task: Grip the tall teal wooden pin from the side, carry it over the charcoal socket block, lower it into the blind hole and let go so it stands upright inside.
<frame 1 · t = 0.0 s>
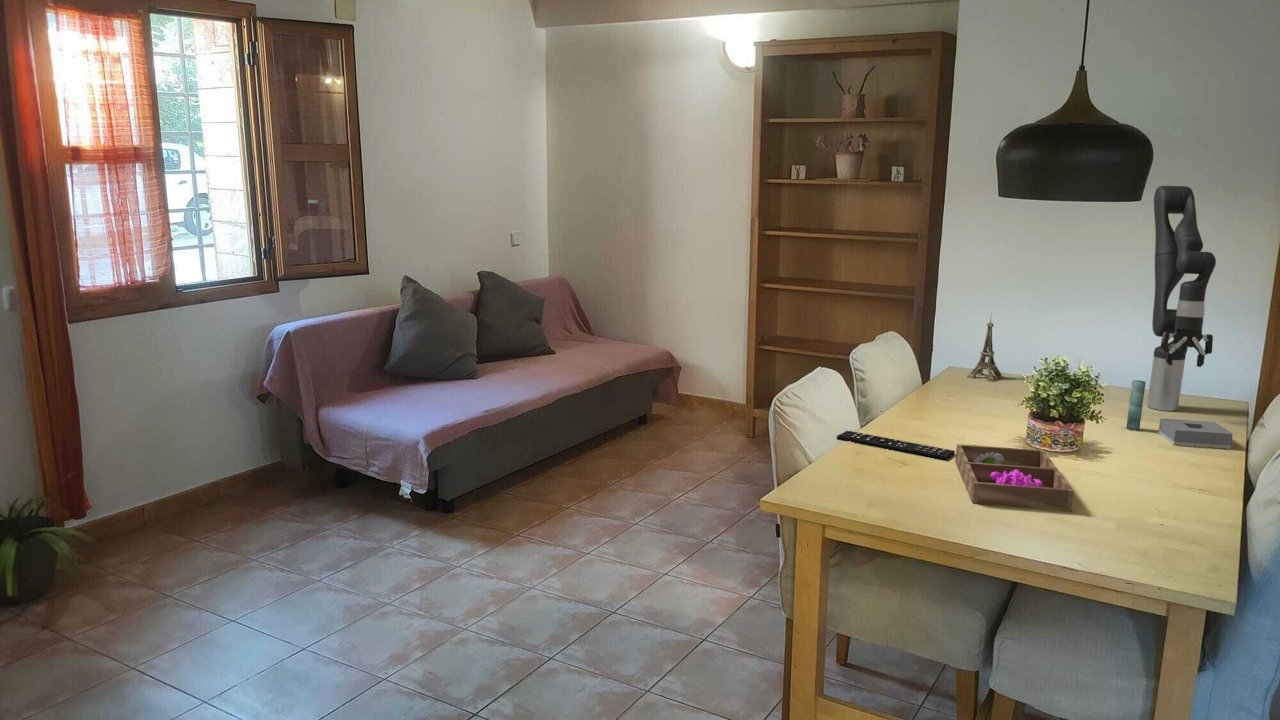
hand: (1184, 365, 297), 17 cm above the table, tool pointing down, fingers open, 8 cm apart
magenta lumpy cluster: (1014, 497, 227), resting in walnut display tray
teal pin: (1132, 429, 287), on the table
socket block: (1193, 440, 276), on the table
decorative flower: (1003, 476, 242), resting in walnut display tray
walnut display tray: (1008, 484, 235), on the table
eiffel tower: (985, 378, 355), on the table
remote control: (893, 449, 266), on the table
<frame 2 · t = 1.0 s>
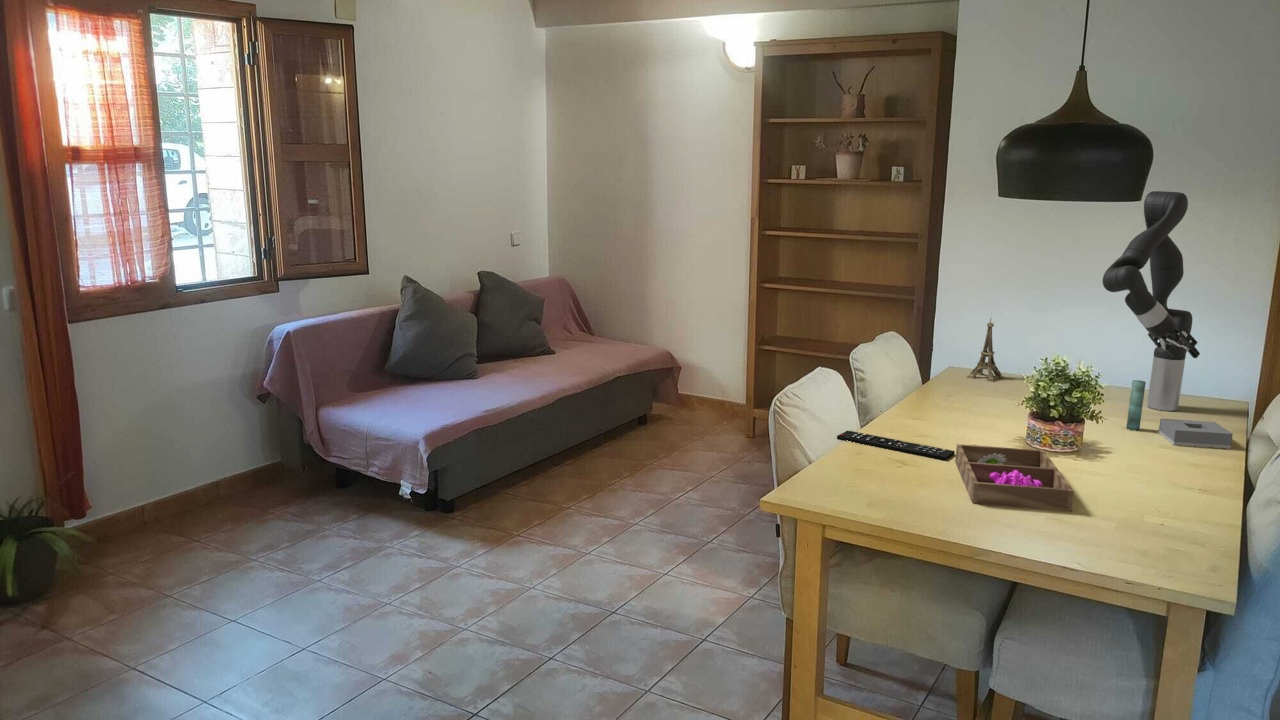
hand: (1186, 355, 285), 23 cm above the table, tool tilted 45°, fingers open, 8 cm apart
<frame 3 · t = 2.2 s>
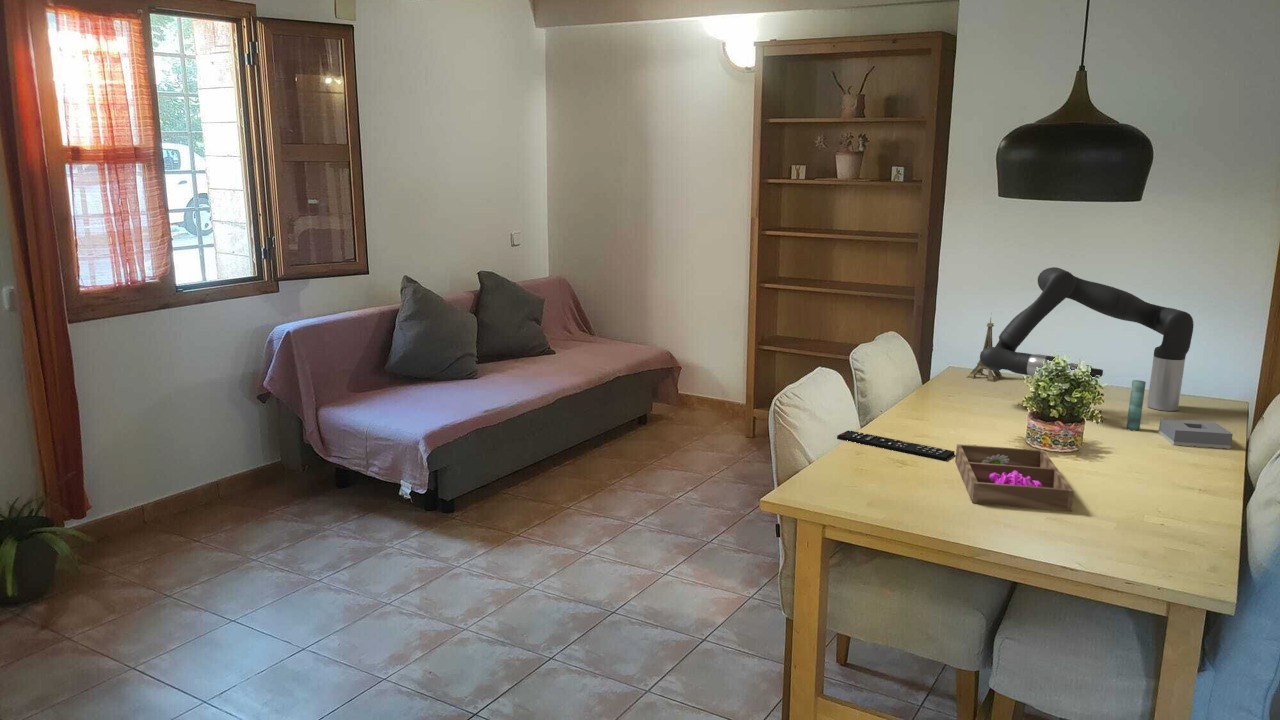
hand: (1099, 375, 291), 15 cm above the table, tool horizontal, fingers open, 8 cm apart
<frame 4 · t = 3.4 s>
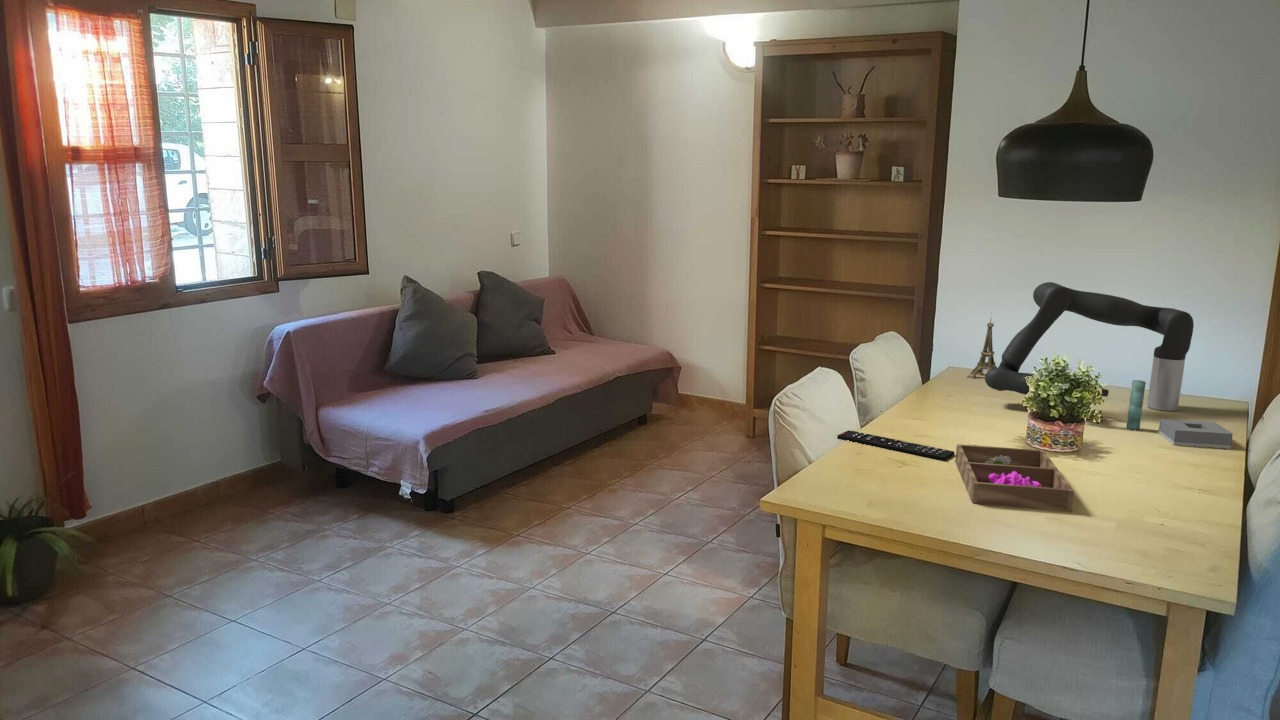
hand: (1104, 395, 291), 9 cm above the table, tool horizontal, fingers open, 8 cm apart
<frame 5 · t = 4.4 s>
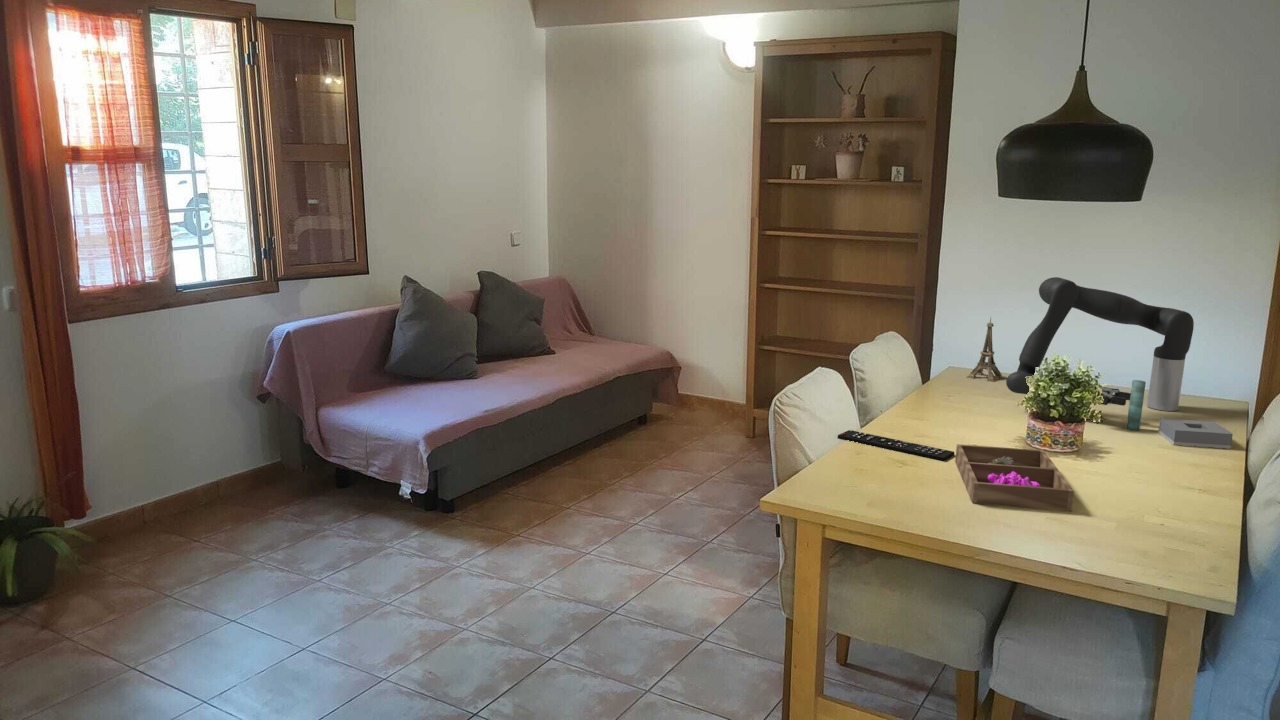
hand: (1129, 399, 287), 9 cm above the table, tool horizontal, fingers open, 8 cm apart
magenta lumpy cluster: (1011, 499, 225), resting in walnut display tray
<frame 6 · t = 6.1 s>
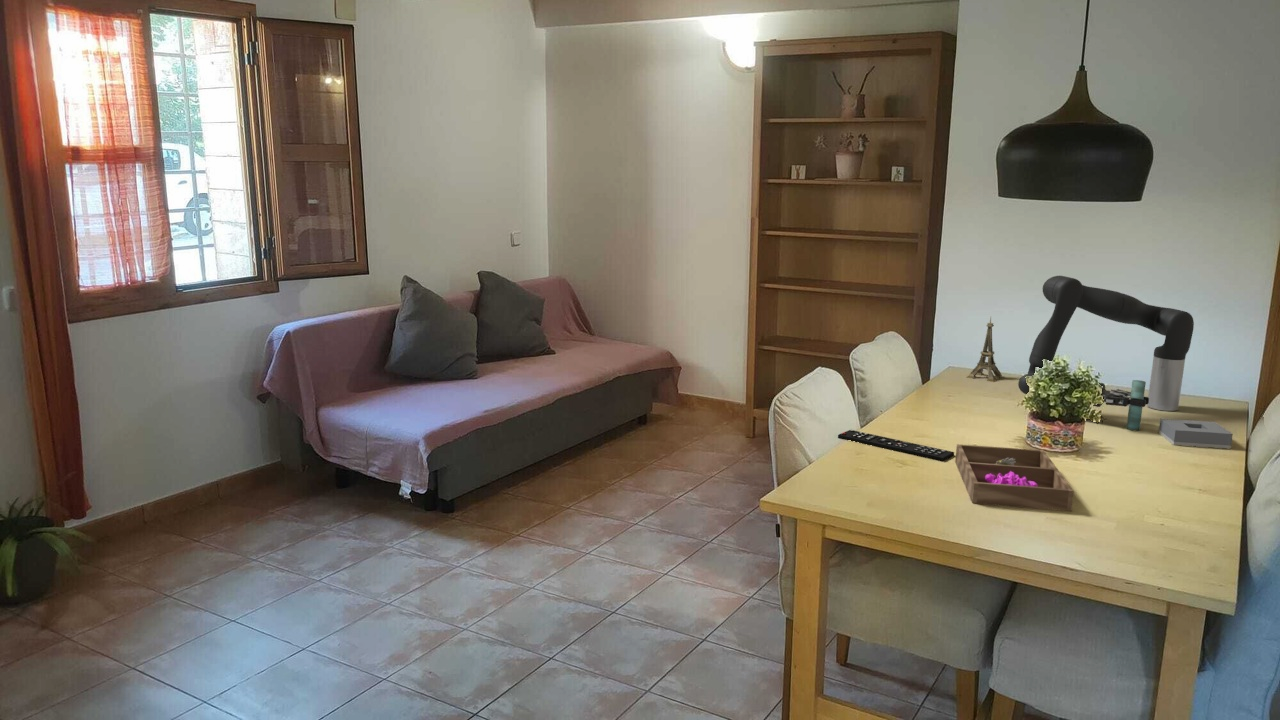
hand: (1146, 402, 284), 9 cm above the table, tool horizontal, fingers closed on teal pin, 3 cm apart
magenta lumpy cluster: (1009, 499, 225), resting in walnut display tray
teal pin: (1132, 429, 287), on the table, touching gripper
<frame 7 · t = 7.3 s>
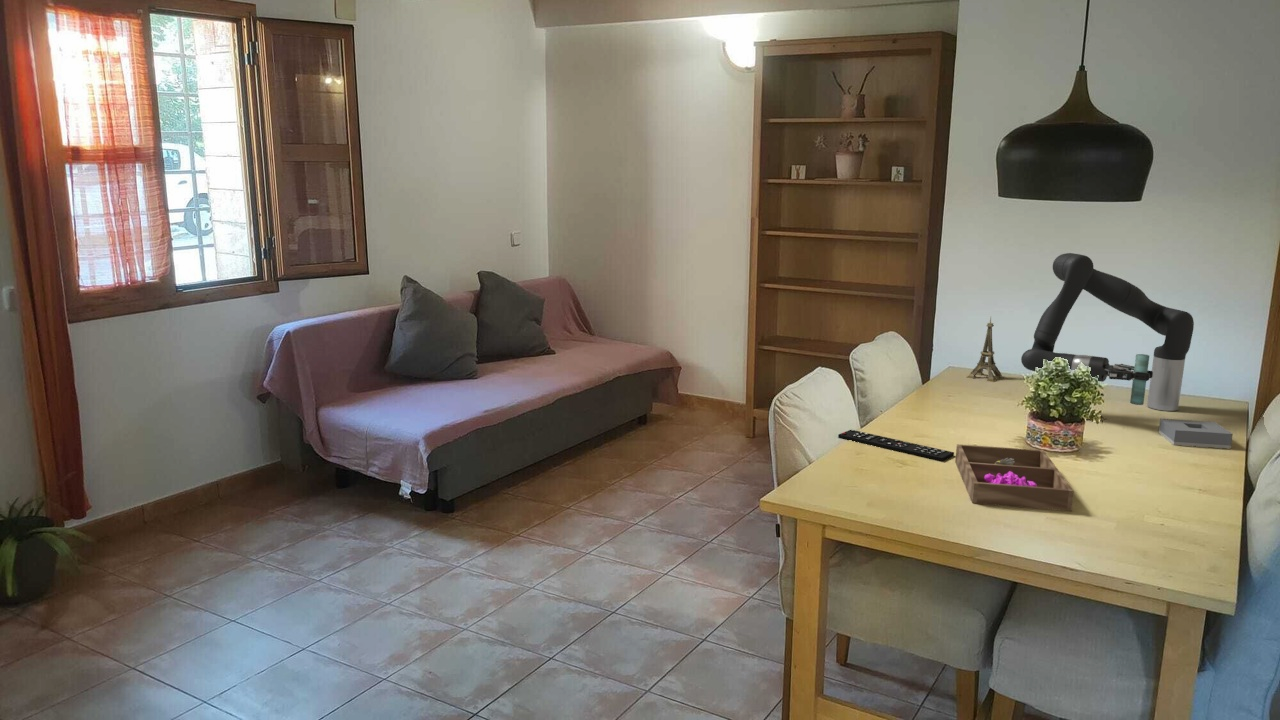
hand: (1150, 376, 282), 17 cm above the table, tool horizontal, fingers closed on teal pin, 3 cm apart
teal pin: (1136, 403, 286), point 8 cm above the table, touching gripper
when the fingers open (11 cm above the table, at t = 10.8 s): teal pin stays where it is, resting on socket block.
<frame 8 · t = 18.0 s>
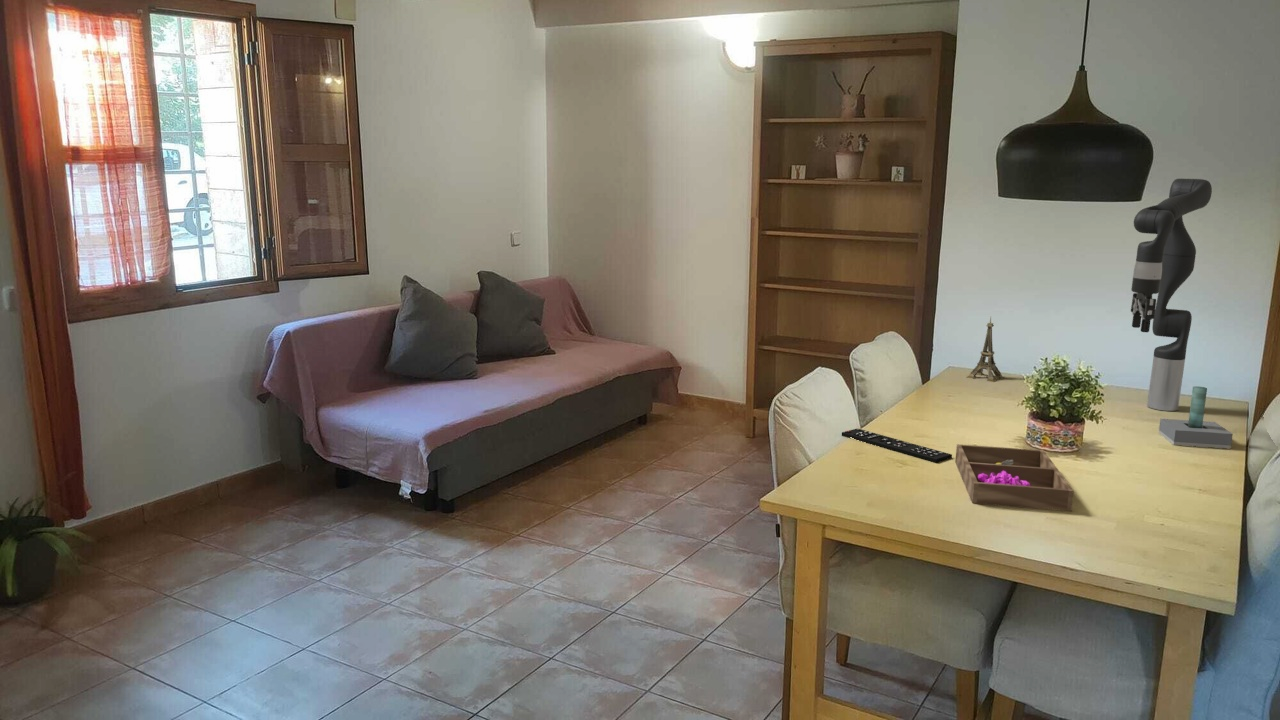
hand: (1140, 329, 286), 30 cm above the table, tool pointing down, fingers open, 8 cm apart
magenta lumpy cluster: (1002, 499, 226), resting in walnut display tray
teal pin: (1193, 437, 276), point 1 cm above the table, touching socket block
at the end: teal pin 0.1 cm off-centre on the socket block, point 1.0 cm above the socket block's base; teal pin tilted 1°; the gripper is holding nothing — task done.
